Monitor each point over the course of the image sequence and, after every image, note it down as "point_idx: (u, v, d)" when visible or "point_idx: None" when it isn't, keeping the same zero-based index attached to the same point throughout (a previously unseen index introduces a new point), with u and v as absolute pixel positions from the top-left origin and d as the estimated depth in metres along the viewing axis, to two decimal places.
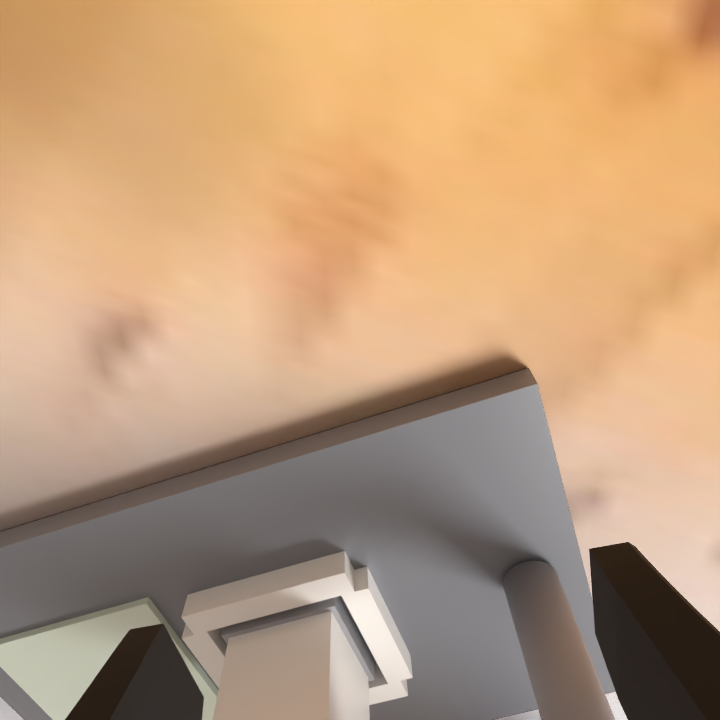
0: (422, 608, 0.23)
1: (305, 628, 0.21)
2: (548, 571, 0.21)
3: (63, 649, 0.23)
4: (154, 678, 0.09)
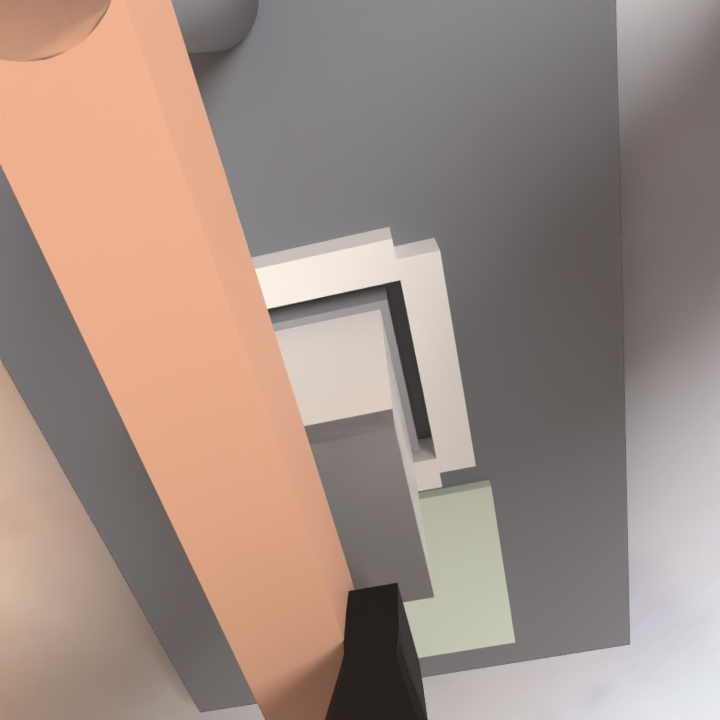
0: (279, 197, 0.14)
1: None
2: None
3: None
4: (404, 636, 0.09)
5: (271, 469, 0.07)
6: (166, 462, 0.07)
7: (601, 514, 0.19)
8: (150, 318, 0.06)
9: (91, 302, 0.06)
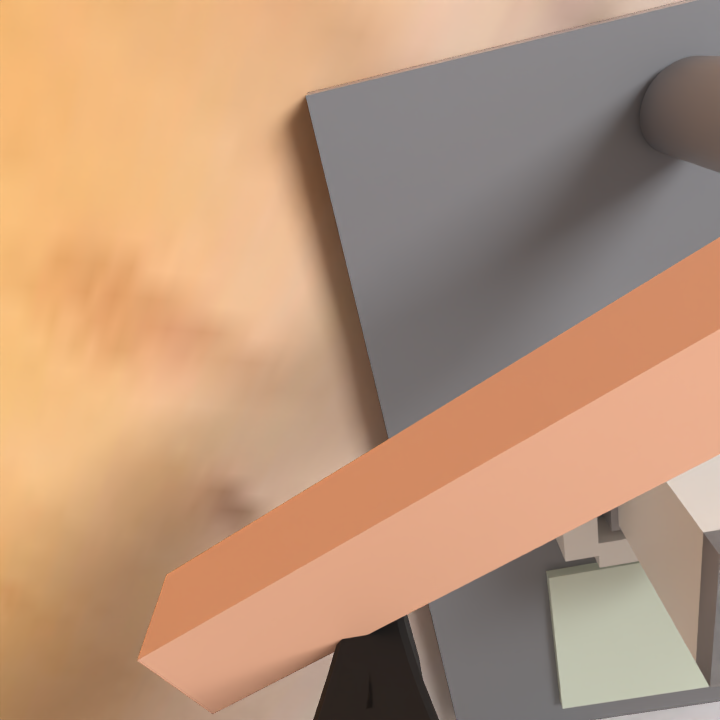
0: None
1: None
2: None
3: (588, 656, 0.21)
4: None
5: (608, 501, 0.08)
6: (592, 422, 0.07)
7: None
8: None
9: None
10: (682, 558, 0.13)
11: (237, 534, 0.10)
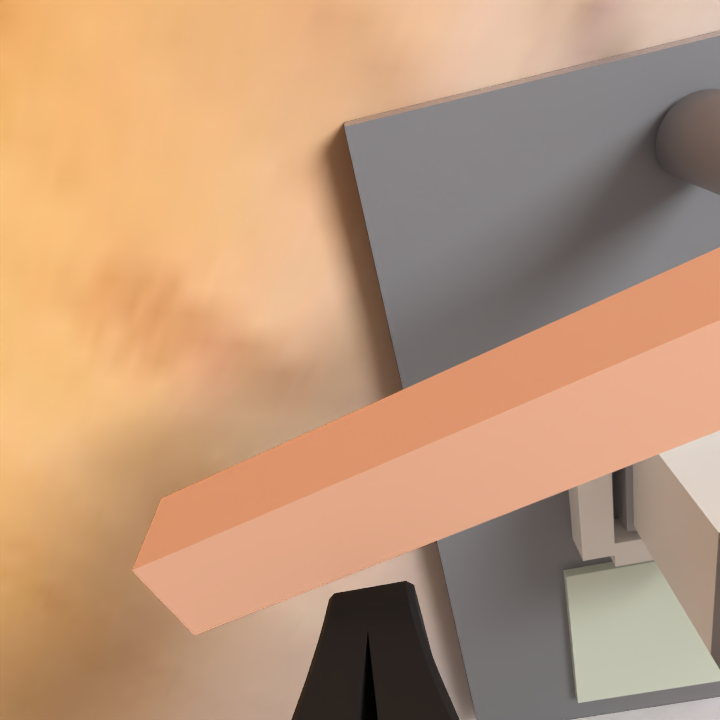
0: None
1: None
2: None
3: (603, 651, 0.22)
4: None
5: (610, 464, 0.08)
6: (610, 385, 0.08)
7: None
8: None
9: None
10: (697, 557, 0.14)
11: (240, 465, 0.10)
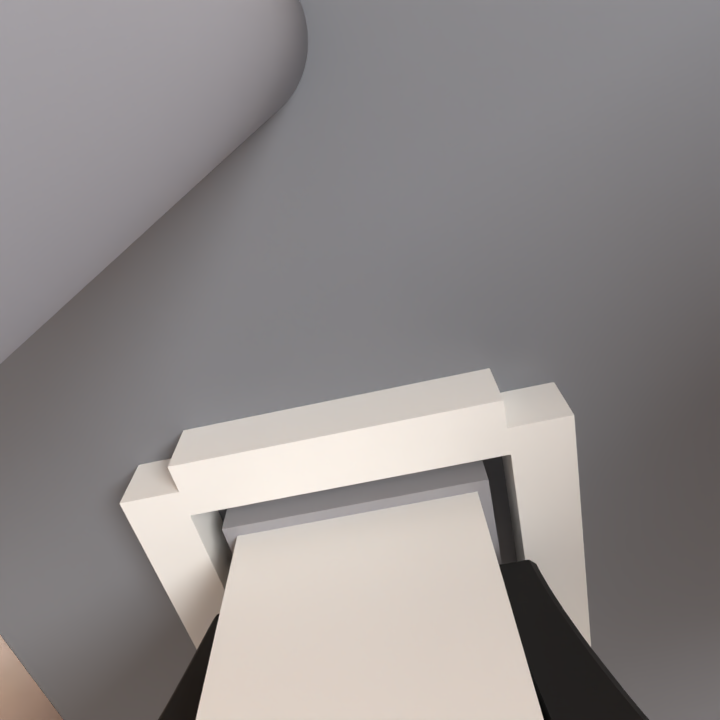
0: (329, 329, 0.09)
1: None
2: None
3: None
4: None
5: None
6: None
7: None
8: None
9: None
10: None
11: None
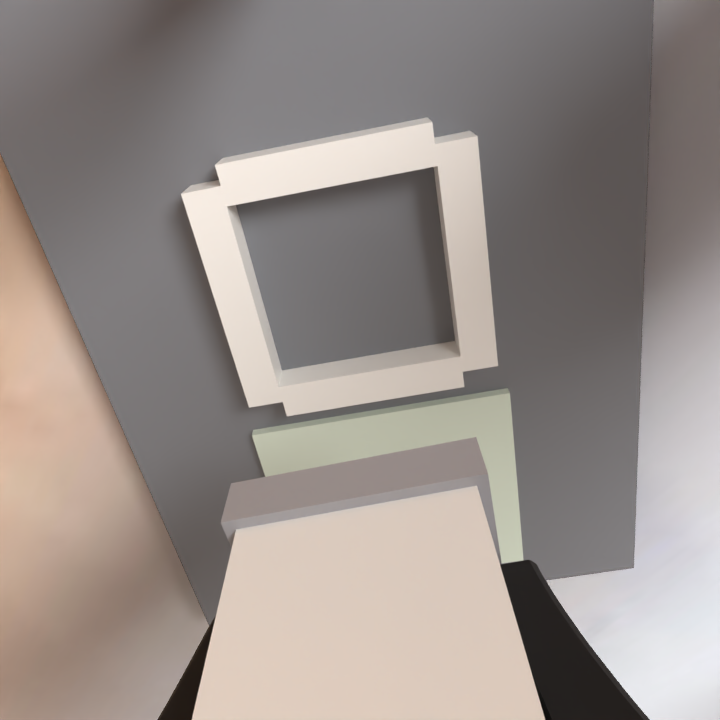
0: (323, 81, 0.14)
1: None
2: None
3: None
4: None
5: None
6: None
7: (613, 428, 0.19)
8: None
9: None
10: None
11: None
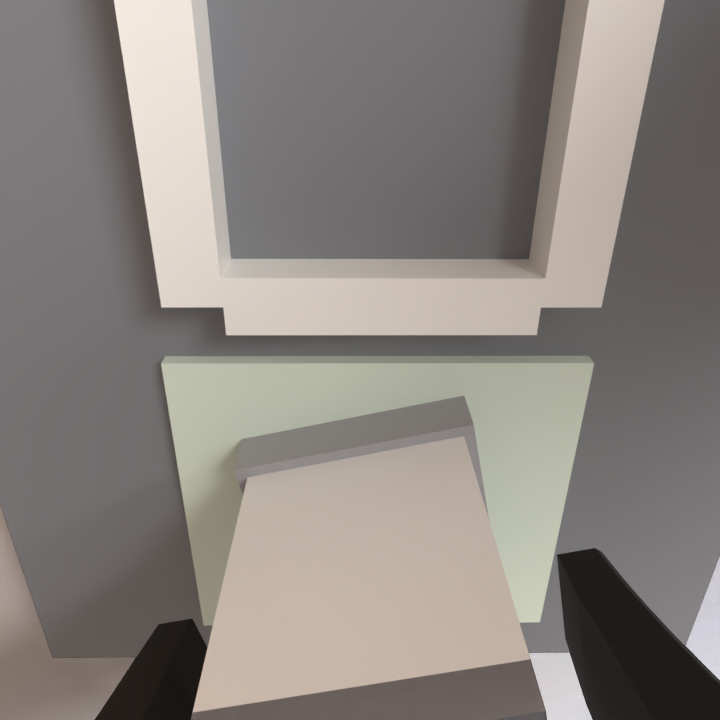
0: None
1: None
2: None
3: None
4: (185, 673, 0.09)
5: None
6: None
7: None
8: None
9: None
10: None
11: None
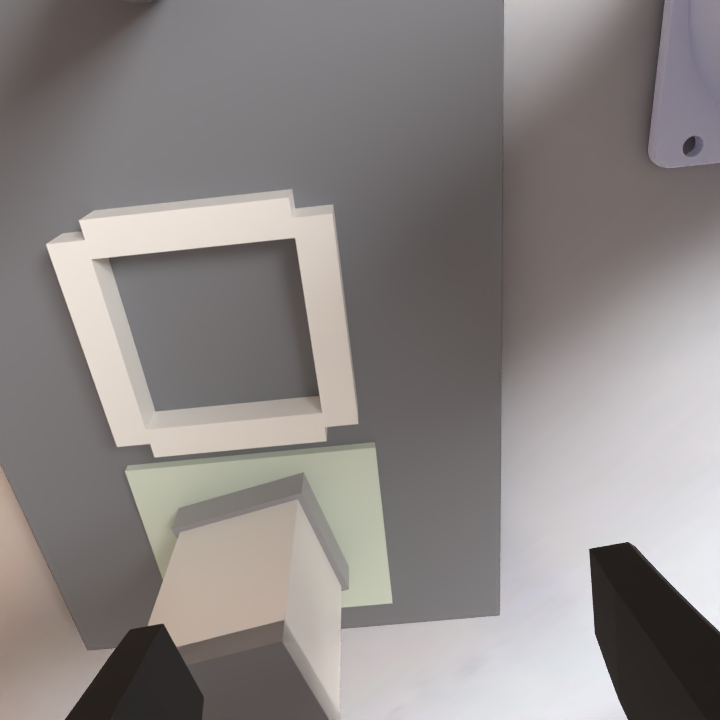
0: (190, 148, 0.15)
1: None
2: None
3: None
4: (154, 678, 0.09)
5: None
6: None
7: (477, 485, 0.20)
8: None
9: None
10: None
11: None
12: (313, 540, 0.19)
